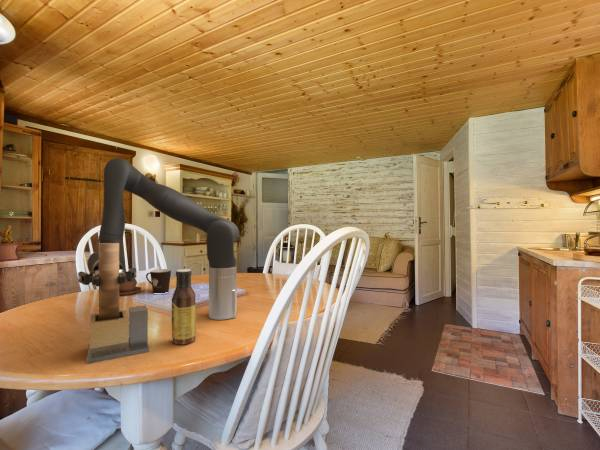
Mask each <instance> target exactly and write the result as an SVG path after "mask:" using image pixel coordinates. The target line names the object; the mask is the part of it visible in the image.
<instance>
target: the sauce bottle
mask: <svg viewBox="0 0 600 450" xmlns="http://www.w3.org/2000/svg"><path fill="white" fill-rule="evenodd" d="M191 276H192V269H190V268H181V269H177V270H175V277H176V279H175V281H176V284H175V289H174V292H173V295H172V298H171V337H172V342H173V344H175V345H188V344H191V343H192V342H194V341H196V334H197V304H196V292H195V290H194V289H193V288H192V277H191Z"/></svg>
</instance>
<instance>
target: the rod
mask: <svg viewBox="0 0 600 450" xmlns="http://www.w3.org/2000/svg"><path fill="white" fill-rule="evenodd" d="M98 252H99V286H98V314H99V321H103V320H110V319H117V318H119V311H120V295H119V243H98Z"/></svg>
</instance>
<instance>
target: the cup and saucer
mask: <svg viewBox="0 0 600 450" xmlns="http://www.w3.org/2000/svg"><path fill="white" fill-rule="evenodd" d="M137 284H138V280H137V279H136V278H135V279H134V280H132V281H127V280H126V282H123V284H120V285H119V296H128V295H133V294H137V293H140V291H142V289H143V288H142V287H140V286H137Z"/></svg>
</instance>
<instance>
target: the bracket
mask: <svg viewBox="0 0 600 450" xmlns="http://www.w3.org/2000/svg"><path fill="white" fill-rule="evenodd" d="M148 311H149V309H148V307H147V306H146V304H145V305H138V306H130V307H128V312H127V310H126V309H123V310H119V318H117V319H110V320H103V321H99V313H91V314H90V319H89V344H88V346H87V347H88V348H87V359H86V360H87V361H86V363H87V364H92V363H97V362H103V361H107V360H111V359H117V358H122V357H128V356H133V355H138V354H145V353H148V352H150V347H149V342H148V341H149V339H148V337H149V335H148V334H149V332H148V331H149V325H148V324H149V321H148V320H149V319H148V318H149V313H148Z"/></svg>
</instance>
